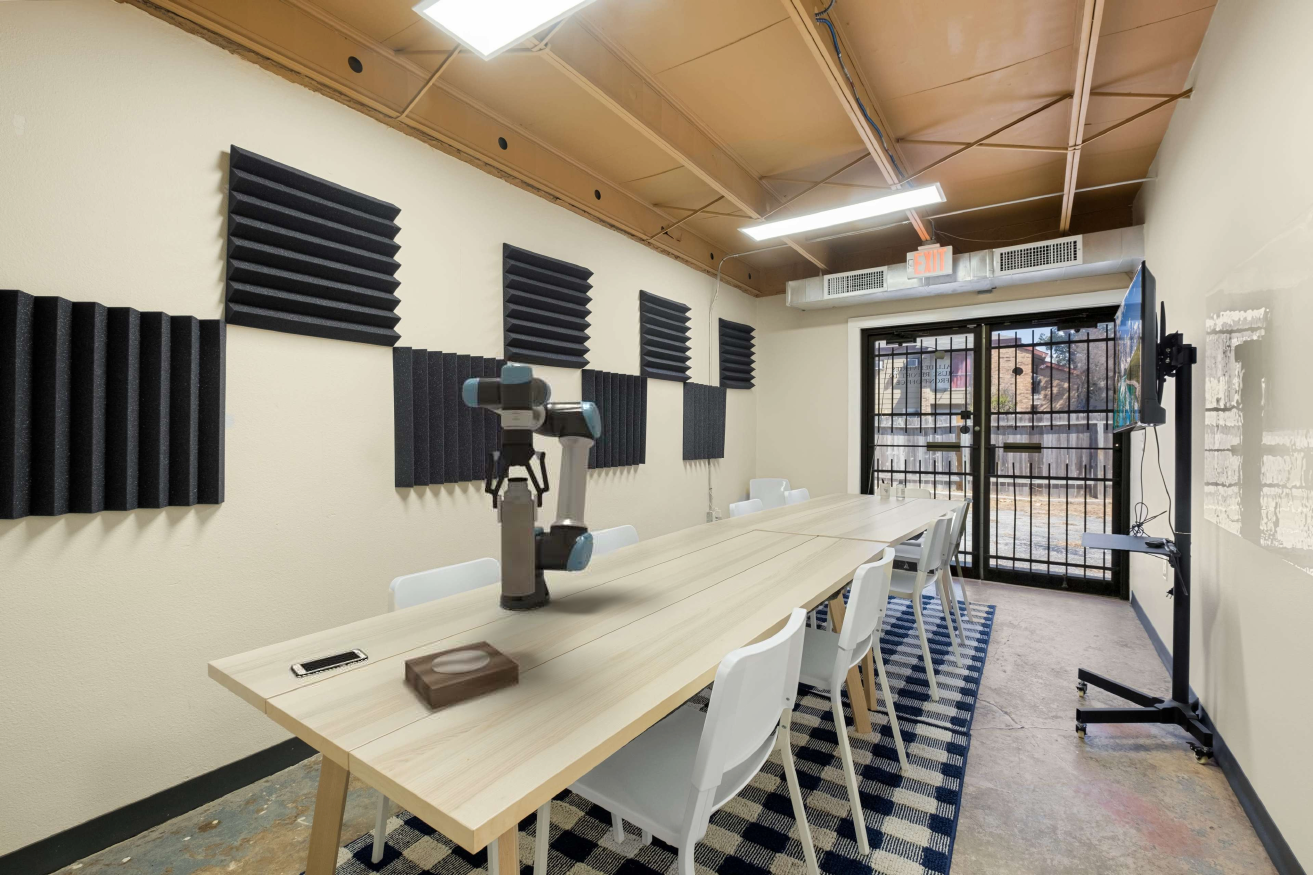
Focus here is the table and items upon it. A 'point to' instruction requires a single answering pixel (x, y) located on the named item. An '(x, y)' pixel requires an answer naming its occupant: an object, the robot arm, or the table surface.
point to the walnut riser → (460, 673)
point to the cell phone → (328, 662)
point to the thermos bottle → (517, 539)
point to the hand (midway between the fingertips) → (517, 521)
